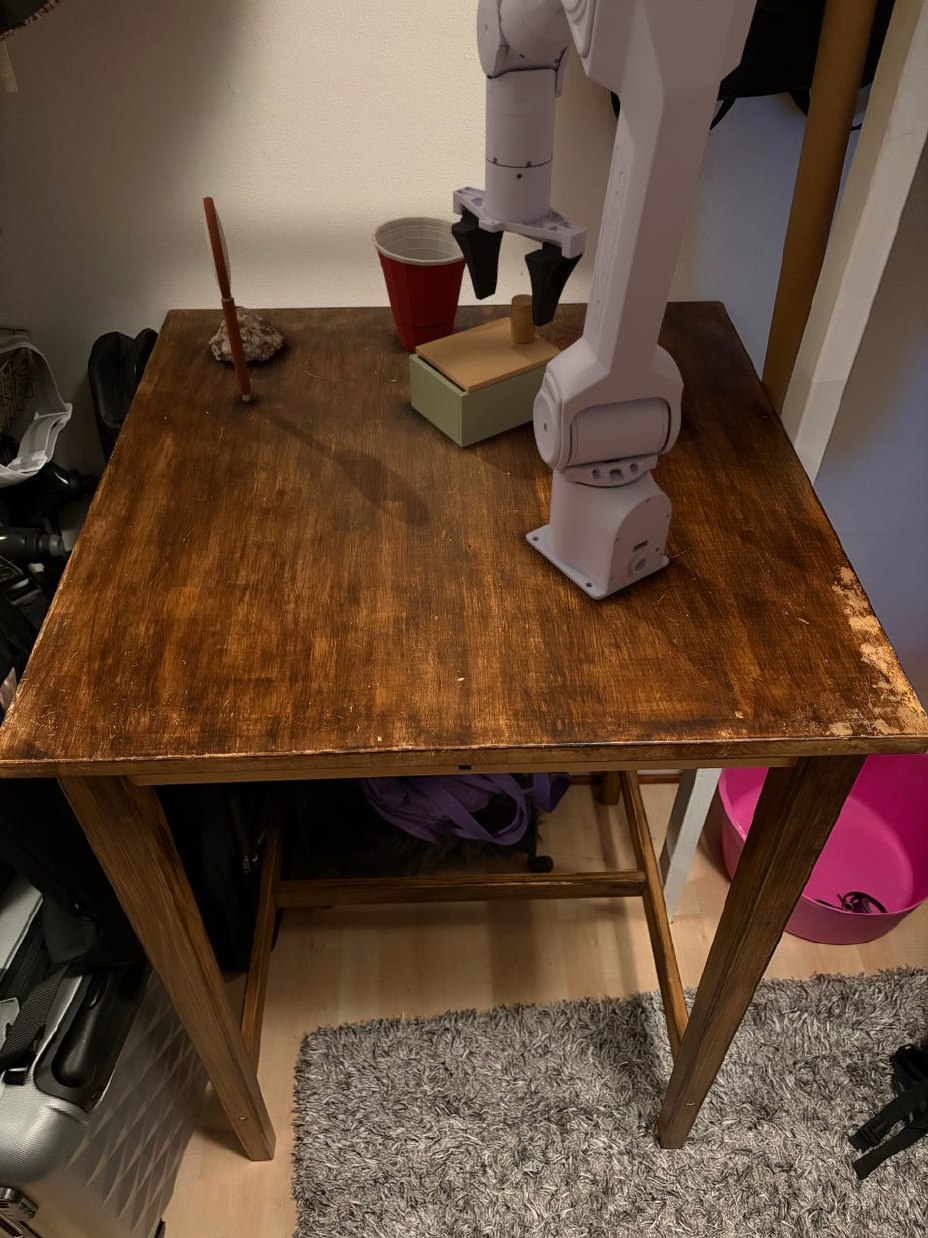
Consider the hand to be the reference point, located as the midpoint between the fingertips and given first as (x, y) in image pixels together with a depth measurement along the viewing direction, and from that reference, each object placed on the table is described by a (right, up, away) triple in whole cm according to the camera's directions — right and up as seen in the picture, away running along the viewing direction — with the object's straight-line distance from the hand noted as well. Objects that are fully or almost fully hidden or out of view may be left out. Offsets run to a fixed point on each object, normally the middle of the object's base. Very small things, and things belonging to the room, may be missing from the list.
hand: (513, 308), depth 86 cm
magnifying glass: (-27, -7, +7) cm, 29 cm away
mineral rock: (-29, +1, +15) cm, 33 cm away
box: (-3, -8, +6) cm, 10 cm away
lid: (-2, -4, +2) cm, 5 cm away
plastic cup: (-9, +2, +16) cm, 18 cm away
